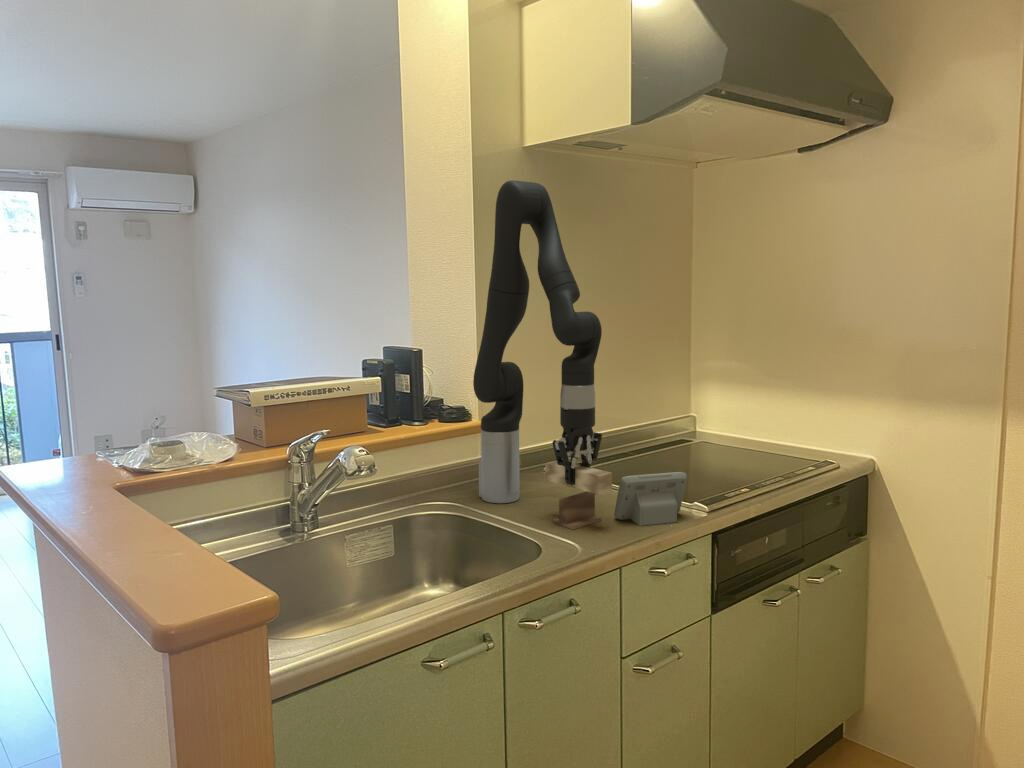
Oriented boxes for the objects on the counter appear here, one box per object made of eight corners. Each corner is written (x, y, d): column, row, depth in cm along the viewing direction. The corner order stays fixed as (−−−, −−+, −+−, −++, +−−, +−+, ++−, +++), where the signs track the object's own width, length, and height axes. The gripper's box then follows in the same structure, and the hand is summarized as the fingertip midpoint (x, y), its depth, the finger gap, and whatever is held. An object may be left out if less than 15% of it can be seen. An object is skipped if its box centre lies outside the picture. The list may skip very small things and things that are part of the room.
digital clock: (680, 512, 178) (681, 467, 177) (692, 525, 169) (693, 477, 168) (610, 514, 177) (611, 468, 175) (618, 527, 168) (619, 479, 167)
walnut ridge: (553, 523, 171) (553, 497, 170) (580, 514, 177) (580, 489, 176) (573, 529, 166) (573, 503, 165) (600, 520, 172) (601, 495, 172)
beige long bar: (545, 480, 175) (545, 463, 174) (557, 477, 177) (557, 460, 177) (599, 494, 163) (599, 476, 162) (611, 491, 166) (612, 472, 165)
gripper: (586, 399, 175) (586, 473, 178) (542, 406, 166) (542, 485, 168) (612, 402, 170) (611, 479, 172) (568, 410, 160) (568, 491, 163)
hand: (577, 481), depth 170 cm, fingers closed on beige long bar, 4 cm apart
